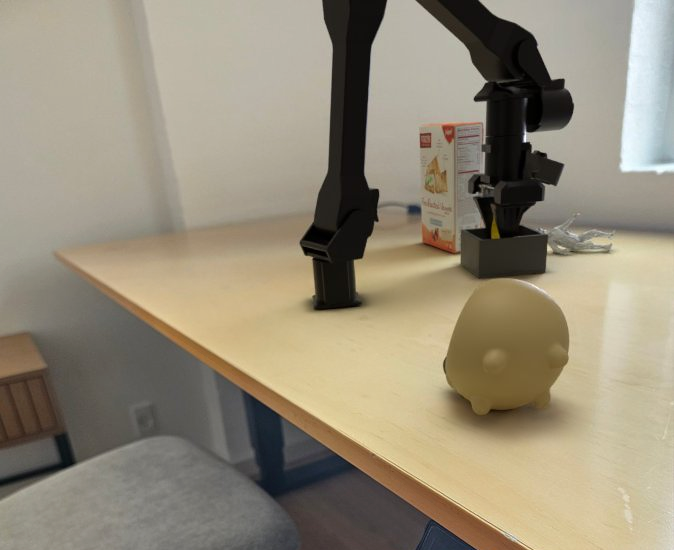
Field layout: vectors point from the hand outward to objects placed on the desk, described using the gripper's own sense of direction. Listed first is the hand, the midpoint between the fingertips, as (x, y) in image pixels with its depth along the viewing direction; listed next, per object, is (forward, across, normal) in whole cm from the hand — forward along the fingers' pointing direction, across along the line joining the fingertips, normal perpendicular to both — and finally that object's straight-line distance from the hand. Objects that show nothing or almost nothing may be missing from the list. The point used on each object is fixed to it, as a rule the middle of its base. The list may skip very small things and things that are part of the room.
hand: (501, 246), depth 102 cm
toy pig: (+4, -52, +16) cm, 55 cm away
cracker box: (+4, +22, +3) cm, 22 cm away
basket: (+3, 0, 0) cm, 3 cm away
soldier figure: (+3, +8, -15) cm, 17 cm away
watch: (+1, 0, 0) cm, 1 cm away
